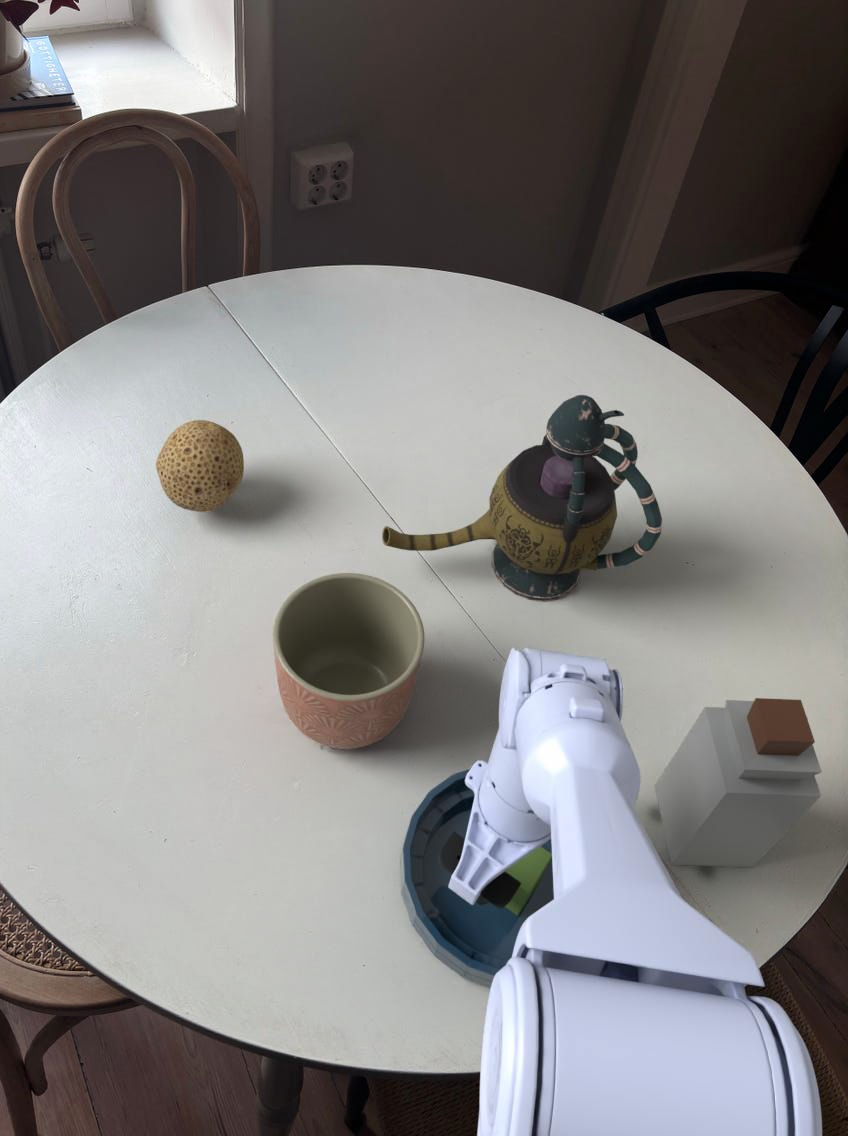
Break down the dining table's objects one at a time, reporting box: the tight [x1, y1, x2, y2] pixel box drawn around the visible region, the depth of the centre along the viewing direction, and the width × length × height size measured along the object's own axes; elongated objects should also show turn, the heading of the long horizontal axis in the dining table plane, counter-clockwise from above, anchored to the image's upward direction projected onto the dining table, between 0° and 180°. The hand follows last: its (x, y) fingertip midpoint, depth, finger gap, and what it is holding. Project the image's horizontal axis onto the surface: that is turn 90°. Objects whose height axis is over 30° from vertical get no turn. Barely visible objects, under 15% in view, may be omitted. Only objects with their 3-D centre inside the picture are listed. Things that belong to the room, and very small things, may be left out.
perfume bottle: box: [654, 697, 823, 868], centre depth 71 cm, size 7×7×18 cm
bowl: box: [399, 768, 554, 988], centre depth 73 cm, size 16×16×4 cm
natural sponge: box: [155, 419, 245, 513], centre depth 96 cm, size 9×9×10 cm
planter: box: [272, 572, 426, 750], centre depth 80 cm, size 12×12×11 cm
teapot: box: [381, 394, 663, 602], centre depth 87 cm, size 12×25×23 cm, turn 94°
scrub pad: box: [505, 846, 552, 916], centre depth 72 cm, size 5×4×5 cm
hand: (499, 852), depth 72 cm, fingers open, 7 cm apart
